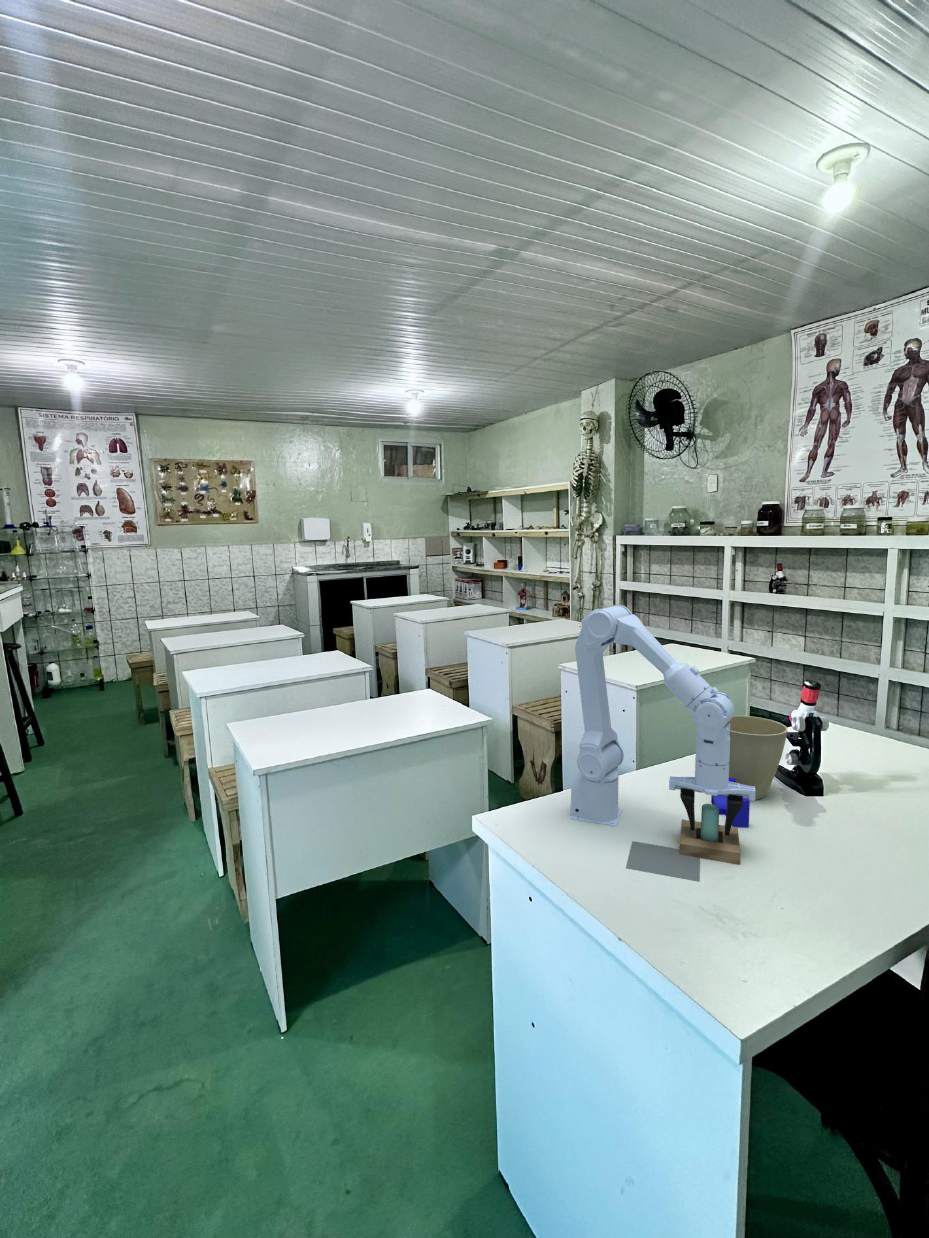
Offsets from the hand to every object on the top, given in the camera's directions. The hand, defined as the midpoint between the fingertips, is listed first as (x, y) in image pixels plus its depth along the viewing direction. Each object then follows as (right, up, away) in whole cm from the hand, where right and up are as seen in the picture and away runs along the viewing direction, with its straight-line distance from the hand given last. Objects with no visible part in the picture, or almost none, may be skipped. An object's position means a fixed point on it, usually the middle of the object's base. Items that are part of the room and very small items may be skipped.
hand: (709, 830), depth 110 cm
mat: (-10, -4, -4) cm, 11 cm away
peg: (0, -3, 0) cm, 3 cm away
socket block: (0, -3, 0) cm, 3 cm away
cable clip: (+10, -2, +13) cm, 17 cm away
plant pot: (+18, 0, +24) cm, 30 cm away
